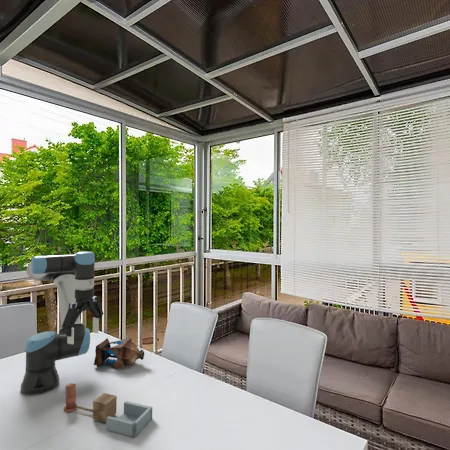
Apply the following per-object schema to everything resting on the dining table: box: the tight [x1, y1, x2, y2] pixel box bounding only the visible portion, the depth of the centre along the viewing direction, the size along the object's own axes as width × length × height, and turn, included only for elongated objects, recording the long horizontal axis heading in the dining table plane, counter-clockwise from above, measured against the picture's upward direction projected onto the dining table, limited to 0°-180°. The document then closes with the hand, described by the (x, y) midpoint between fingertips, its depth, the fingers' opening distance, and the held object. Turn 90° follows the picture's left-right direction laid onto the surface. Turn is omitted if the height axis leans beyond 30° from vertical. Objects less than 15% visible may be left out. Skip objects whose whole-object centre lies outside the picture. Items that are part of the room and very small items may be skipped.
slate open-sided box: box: [105, 400, 153, 438], centre depth 117 cm, size 12×11×4 cm
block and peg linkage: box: [63, 382, 118, 423], centre depth 123 cm, size 22×6×9 cm, turn 72°
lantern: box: [93, 337, 145, 371], centre depth 165 cm, size 16×16×25 cm
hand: (83, 337), depth 134 cm, fingers open, 13 cm apart
